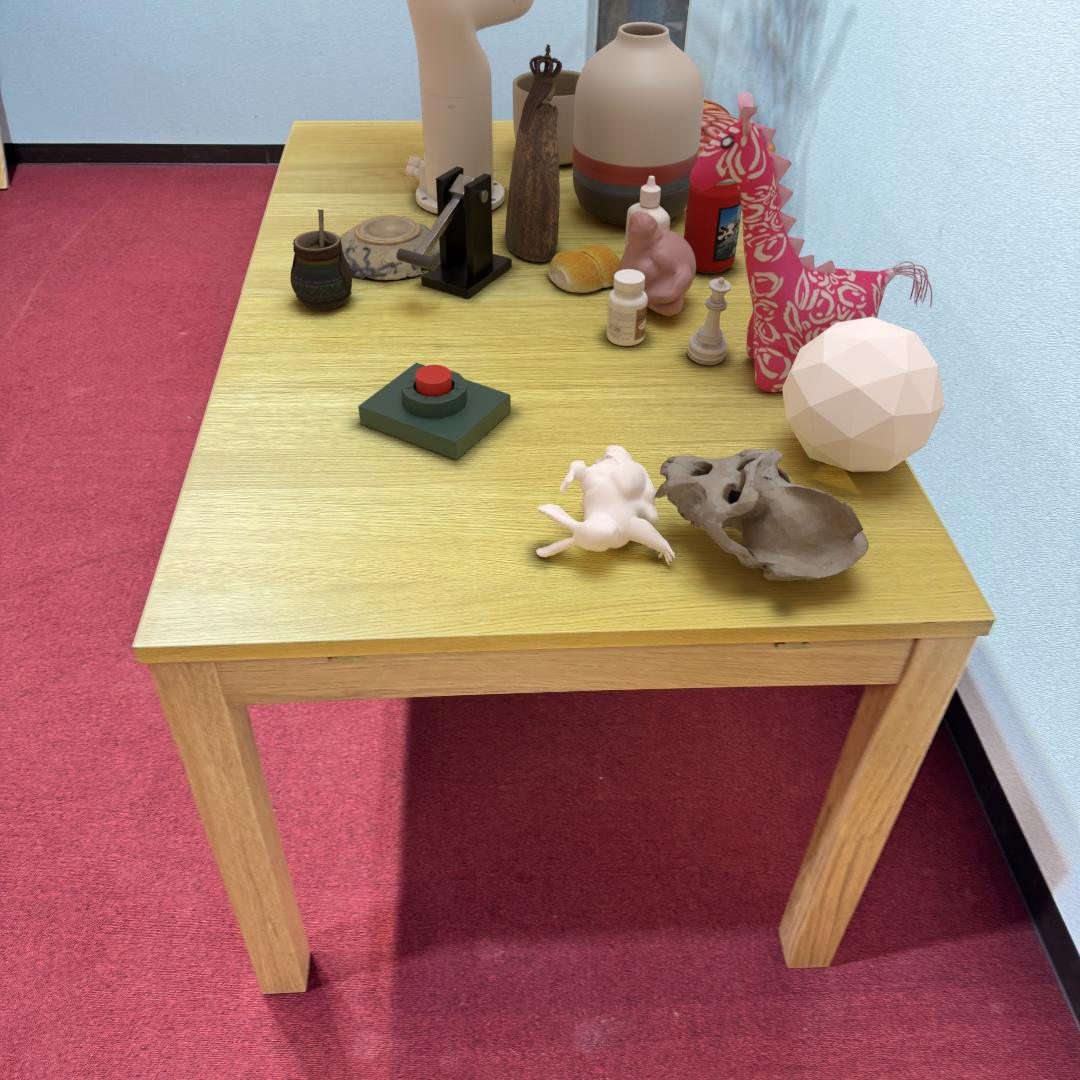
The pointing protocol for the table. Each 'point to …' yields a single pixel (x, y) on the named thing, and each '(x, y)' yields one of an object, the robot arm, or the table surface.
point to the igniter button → (433, 380)
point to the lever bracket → (466, 240)
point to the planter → (561, 99)
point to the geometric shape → (863, 395)
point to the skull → (765, 514)
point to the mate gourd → (320, 269)
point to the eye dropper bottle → (649, 206)
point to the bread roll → (584, 268)
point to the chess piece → (711, 328)
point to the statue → (536, 170)
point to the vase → (636, 123)
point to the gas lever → (437, 228)
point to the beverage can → (713, 225)
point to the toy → (784, 254)
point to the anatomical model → (716, 124)
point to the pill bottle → (627, 308)
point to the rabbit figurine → (609, 507)
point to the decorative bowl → (384, 247)
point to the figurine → (659, 263)
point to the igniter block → (435, 413)
